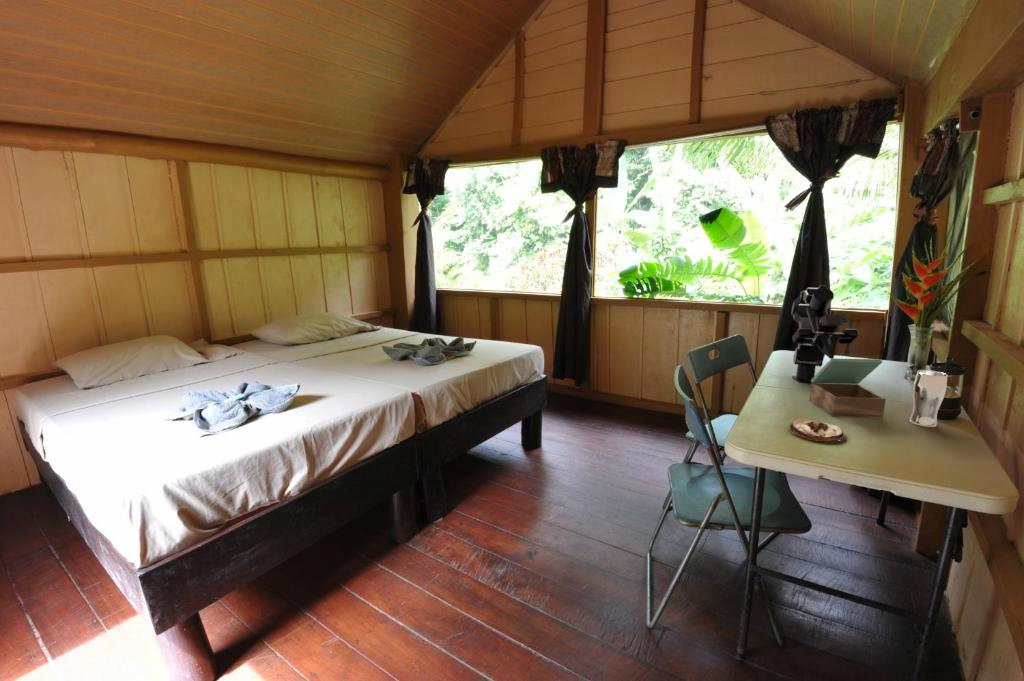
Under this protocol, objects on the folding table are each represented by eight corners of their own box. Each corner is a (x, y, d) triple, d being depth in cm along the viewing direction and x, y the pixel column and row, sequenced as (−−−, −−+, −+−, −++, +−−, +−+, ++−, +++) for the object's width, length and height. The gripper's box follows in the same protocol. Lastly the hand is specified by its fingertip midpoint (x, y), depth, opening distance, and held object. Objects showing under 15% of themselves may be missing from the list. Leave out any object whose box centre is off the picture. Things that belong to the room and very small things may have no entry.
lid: (811, 382, 158) (810, 376, 159) (857, 383, 156) (855, 377, 158) (832, 361, 146) (830, 355, 147) (882, 362, 145) (880, 355, 146)
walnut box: (809, 400, 159) (811, 383, 158) (855, 402, 158) (857, 384, 157) (832, 416, 146) (835, 397, 144) (882, 418, 144) (885, 399, 143)
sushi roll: (799, 420, 144) (801, 407, 144) (857, 437, 133) (859, 422, 132) (774, 432, 136) (775, 418, 135) (833, 451, 124) (835, 436, 123)
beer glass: (944, 428, 136) (954, 377, 133) (916, 427, 138) (925, 376, 134) (929, 419, 143) (938, 370, 140) (902, 417, 144) (910, 369, 141)
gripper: (800, 304, 161) (812, 344, 153) (860, 304, 160) (876, 345, 151) (787, 323, 171) (797, 362, 163) (843, 324, 169) (857, 363, 161)
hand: (832, 358), depth 159 cm, fingers closed
